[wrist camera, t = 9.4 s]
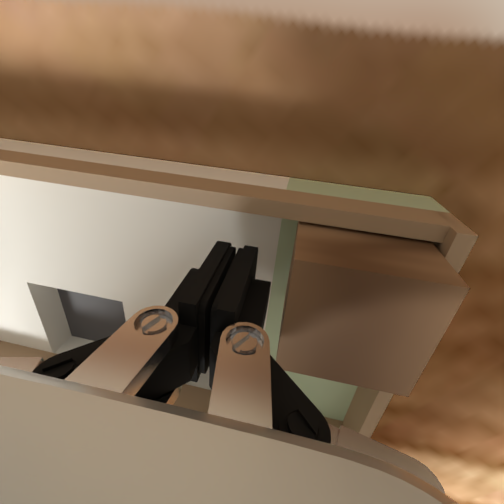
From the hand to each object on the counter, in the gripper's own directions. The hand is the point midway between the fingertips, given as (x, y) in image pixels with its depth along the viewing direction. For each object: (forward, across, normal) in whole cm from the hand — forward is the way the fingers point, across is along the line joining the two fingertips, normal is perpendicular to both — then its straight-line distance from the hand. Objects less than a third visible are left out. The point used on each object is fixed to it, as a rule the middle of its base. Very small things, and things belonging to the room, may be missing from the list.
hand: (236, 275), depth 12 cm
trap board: (+3, +6, +4) cm, 7 cm away
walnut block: (+1, -4, 0) cm, 5 cm away
